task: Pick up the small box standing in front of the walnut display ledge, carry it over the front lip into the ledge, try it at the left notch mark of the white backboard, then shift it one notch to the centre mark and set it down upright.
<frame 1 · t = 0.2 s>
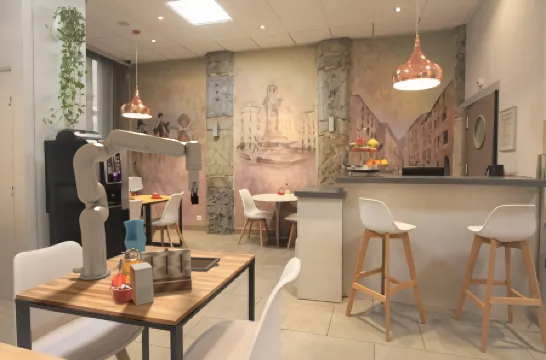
hand: (194, 203, 164), 31 cm above the table, tool pointing down, fingers open, 9 cm apart
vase: (136, 258, 184), on the table
display ledge: (166, 285, 141), on the table
small box: (142, 300, 127), on the table
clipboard: (190, 265, 171), on the table
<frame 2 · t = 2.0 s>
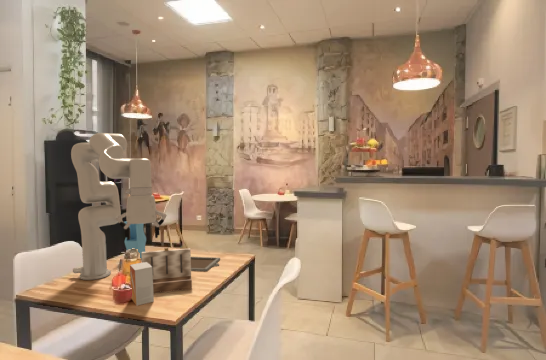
hand: (142, 238, 127), 23 cm above the table, tool pointing down, fingers open, 9 cm apart
nothing on the table moved.
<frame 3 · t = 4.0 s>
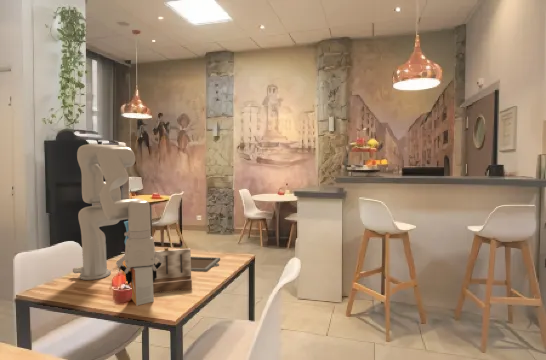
hand: (141, 281, 126), 7 cm above the table, tool pointing down, fingers closed on small box, 7 cm apart
small box: (142, 300, 127), on the table, touching gripper
everything else where it was.
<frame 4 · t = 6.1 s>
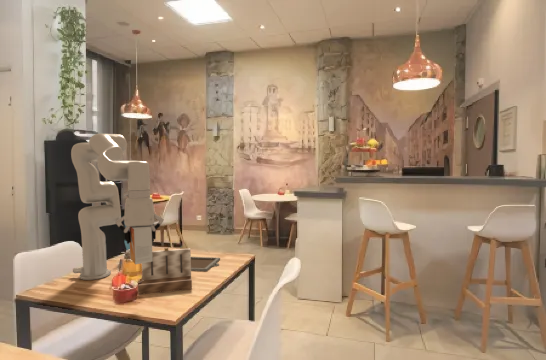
hand: (140, 241, 127), 22 cm above the table, tool pointing down, fingers closed on small box, 7 cm apart
small box: (141, 261, 127), point 14 cm above the table, touching gripper
everything else where it was.
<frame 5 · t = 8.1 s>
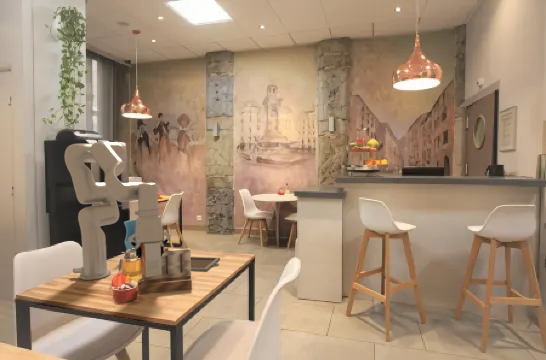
hand: (150, 256, 139), 13 cm above the table, tool pointing down, fingers closed on small box, 7 cm apart
small box: (151, 273, 139), point 6 cm above the table, touching gripper
everything else where it was.
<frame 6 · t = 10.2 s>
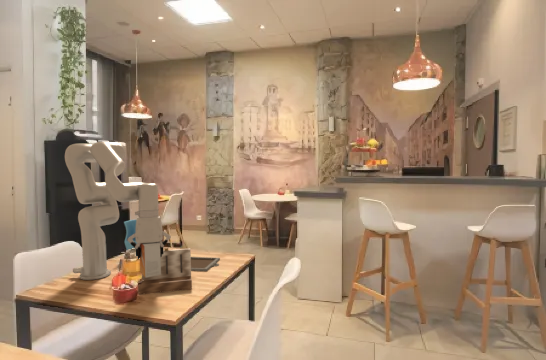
hand: (150, 256, 139), 13 cm above the table, tool pointing down, fingers closed on small box, 7 cm apart
small box: (150, 274, 139), point 5 cm above the table, touching gripper
everything else where it was.
when the fingers open (9 cm above the table, at t = 12.2 s): small box stays where it is, resting on display ledge.
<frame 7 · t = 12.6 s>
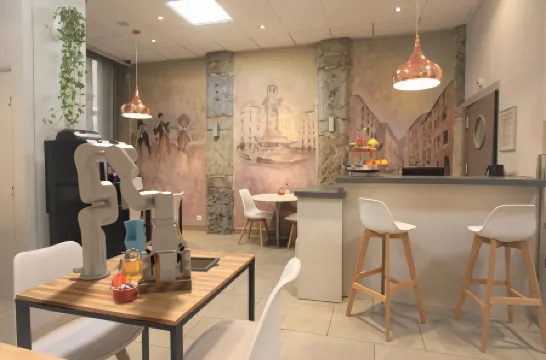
hand: (165, 263, 141), 9 cm above the table, tool pointing down, fingers open, 9 cm apart
small box: (165, 283, 141), point 1 cm above the table, touching display ledge
everything else where it was.
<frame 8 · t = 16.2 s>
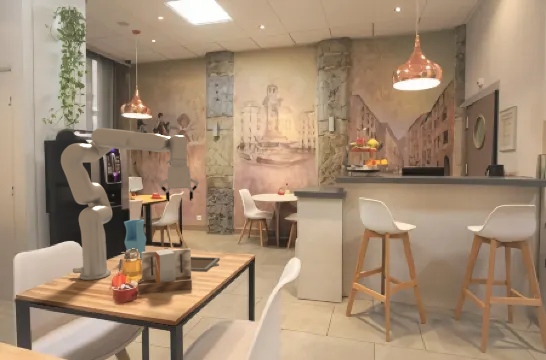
hand: (179, 200, 155), 33 cm above the table, tool pointing down, fingers open, 9 cm apart
nothing on the table moved.
at the end: small box inside the target area (0.4 cm from its centre), point 1.0 cm above the table; small box tilted 0°; the gripper is holding nothing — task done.
